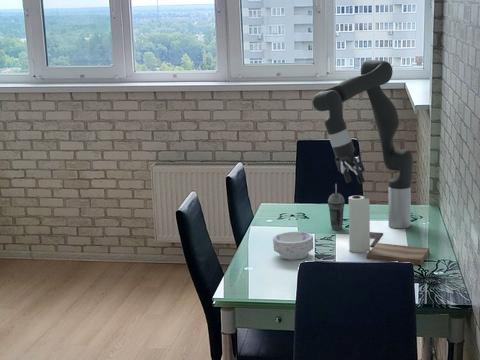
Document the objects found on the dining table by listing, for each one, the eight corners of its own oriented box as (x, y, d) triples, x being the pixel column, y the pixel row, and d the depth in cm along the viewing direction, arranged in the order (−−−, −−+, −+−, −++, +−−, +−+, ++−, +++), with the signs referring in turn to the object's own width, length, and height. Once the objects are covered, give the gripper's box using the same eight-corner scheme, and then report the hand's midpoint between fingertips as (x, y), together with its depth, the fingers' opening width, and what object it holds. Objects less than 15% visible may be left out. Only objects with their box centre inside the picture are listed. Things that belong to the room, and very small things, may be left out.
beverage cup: (345, 225, 306) (344, 181, 302) (345, 230, 299) (345, 184, 295) (328, 226, 307) (327, 181, 303) (328, 231, 300) (327, 185, 296)
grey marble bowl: (267, 253, 274) (266, 234, 273) (303, 247, 280) (302, 228, 278) (283, 265, 261) (282, 244, 259) (320, 258, 266) (320, 238, 264)
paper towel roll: (346, 249, 274) (345, 196, 270) (359, 247, 277) (358, 194, 272) (356, 254, 268) (356, 200, 263) (369, 252, 270) (369, 198, 266)
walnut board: (377, 247, 275) (377, 243, 274) (429, 253, 266) (429, 248, 265) (366, 259, 263) (366, 253, 262) (420, 265, 254) (420, 259, 253)
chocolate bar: (382, 232, 292) (373, 245, 276) (382, 235, 292) (373, 248, 276) (361, 231, 296) (351, 244, 279) (361, 233, 296) (351, 246, 280)
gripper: (360, 138, 255) (374, 179, 258) (339, 138, 268) (352, 177, 271) (344, 146, 252) (358, 187, 256) (323, 146, 265) (337, 185, 269)
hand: (355, 182), depth 263 cm, fingers open, 8 cm apart
